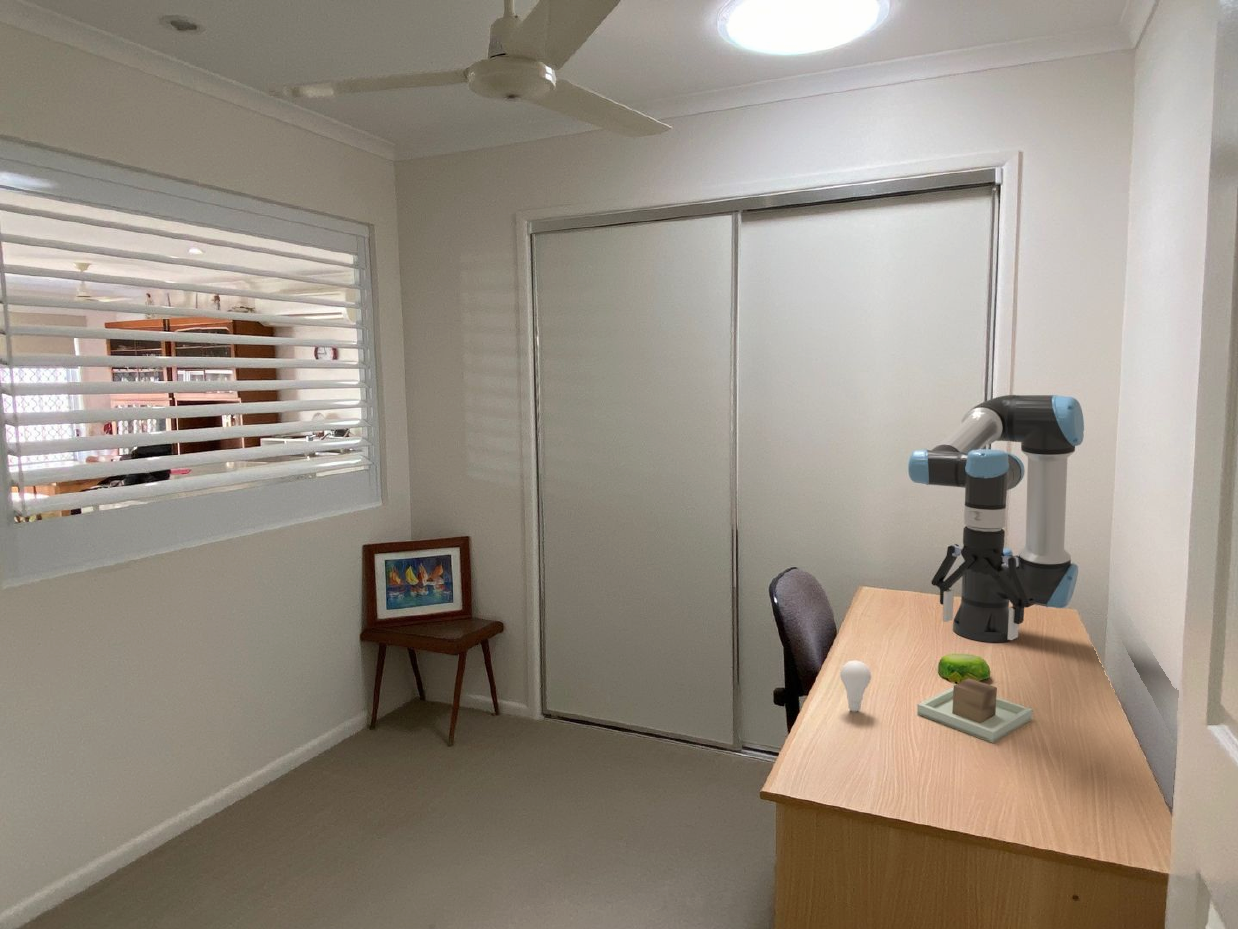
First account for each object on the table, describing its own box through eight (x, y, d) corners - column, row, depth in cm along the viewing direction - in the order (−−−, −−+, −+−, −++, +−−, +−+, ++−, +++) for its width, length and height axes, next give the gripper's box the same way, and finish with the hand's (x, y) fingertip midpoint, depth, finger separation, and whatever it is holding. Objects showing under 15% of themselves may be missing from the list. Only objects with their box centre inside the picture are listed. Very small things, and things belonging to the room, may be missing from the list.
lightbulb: (869, 707, 166) (871, 657, 165) (869, 719, 160) (871, 668, 159) (840, 703, 168) (841, 654, 167) (838, 715, 162) (839, 665, 161)
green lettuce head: (995, 687, 176) (996, 666, 175) (944, 684, 178) (945, 663, 177) (981, 668, 187) (982, 648, 186) (933, 666, 189) (934, 646, 188)
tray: (957, 693, 172) (958, 684, 172) (1032, 719, 160) (1032, 709, 159) (917, 714, 162) (917, 704, 162) (993, 743, 150) (993, 732, 150)
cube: (967, 705, 165) (968, 678, 164) (995, 715, 160) (996, 687, 160) (952, 713, 161) (953, 685, 161) (980, 723, 157) (982, 695, 156)
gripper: (916, 520, 163) (913, 617, 166) (1039, 541, 144) (1033, 651, 147) (936, 515, 168) (932, 610, 171) (1058, 535, 148) (1051, 641, 151)
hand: (979, 629), depth 159 cm, fingers open, 13 cm apart
